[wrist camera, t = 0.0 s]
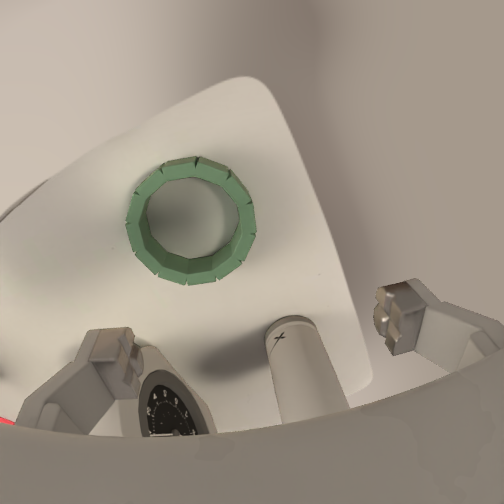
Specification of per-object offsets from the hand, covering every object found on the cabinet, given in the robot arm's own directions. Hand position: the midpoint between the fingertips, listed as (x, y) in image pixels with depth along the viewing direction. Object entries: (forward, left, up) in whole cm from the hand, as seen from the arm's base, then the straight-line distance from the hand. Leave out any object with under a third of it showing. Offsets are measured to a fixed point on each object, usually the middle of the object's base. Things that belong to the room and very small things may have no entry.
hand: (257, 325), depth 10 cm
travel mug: (+19, +4, -20) cm, 27 cm away
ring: (+3, -4, -20) cm, 20 cm away
